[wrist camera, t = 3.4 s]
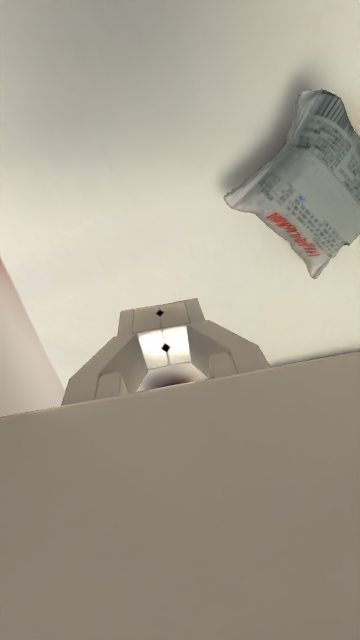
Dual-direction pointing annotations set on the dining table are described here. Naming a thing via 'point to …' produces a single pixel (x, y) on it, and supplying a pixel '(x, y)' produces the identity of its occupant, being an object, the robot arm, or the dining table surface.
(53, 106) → the dining table surface
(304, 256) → the packaged food
